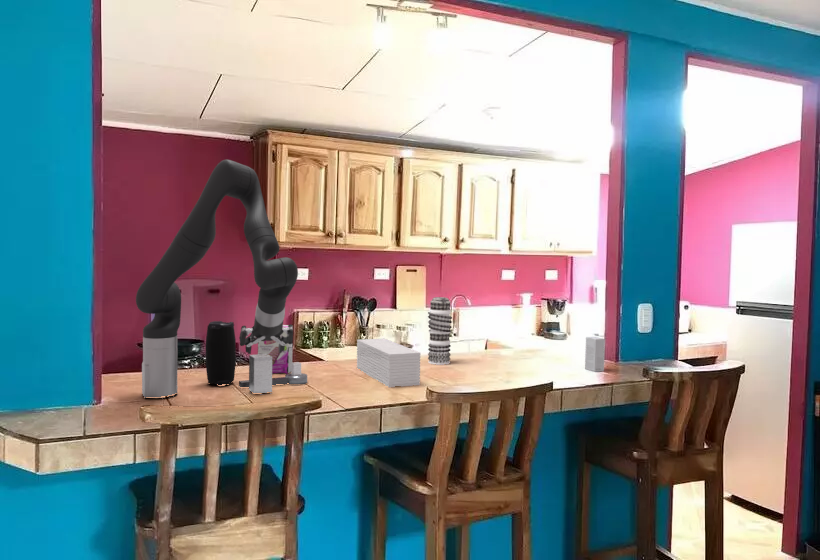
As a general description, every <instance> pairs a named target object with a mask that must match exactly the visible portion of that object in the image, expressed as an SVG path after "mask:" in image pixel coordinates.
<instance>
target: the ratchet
mask: <svg viewBox="0 0 820 560" xmlns="http://www.w3.org/2000/svg"><path fill="white" fill-rule="evenodd" d="M287 383H289V384H304V385H307V384H308V374H307V373H303V372H302V363H301V362H299V361H296V362H295V361H294V362H293V361H292V372H290V373H289V374H285V376H282V377H281V376H278V377H272V385H276V384H287ZM306 383H307V384H306ZM239 386H240V387H249V379H248V380H247V379H246V380H239V381H238V387H239Z"/></svg>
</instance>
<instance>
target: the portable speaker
mask: <svg viewBox="0 0 820 560" xmlns="http://www.w3.org/2000/svg"><path fill="white" fill-rule="evenodd" d="M205 338H206V339H205V368H206V379H207V384H208V383H211V384H215V385H216V386H217V384H218V385H222V384H230V383H231V382H232V381H233V382H234V380H235V372H236V364H237V357H236V356H237V354H236V353H237V350H236V349H237V347H236V344H237V343H236V333H235V324H234V322H233V321H230V322H227V321H220V320H219V321H218V320H216V321H215V320H214V321H210V322H209V323H208V325H207V329H206V337H205ZM233 382H232V383H233ZM232 383H231V384H232ZM231 384H230V385H231Z"/></svg>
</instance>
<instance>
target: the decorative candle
mask: <svg viewBox="0 0 820 560" xmlns="http://www.w3.org/2000/svg"><path fill="white" fill-rule="evenodd" d="M429 302H430V305H429V306H430V308H429V311H428V312H427V315H428V316H427V317H428V319H429V320H428V321H427V323H428V325H427V326H428V327H427V328H429V329H428V333H429V341H428V342H429V344H428V349H427V351H429V352H427V355H428V357H427V360H428V361H427V362H428V364H430V365H435V364H436V365H438V366H443V365H444V364H446V365H450V364H451V361H450V360H451V356H452V355H451V353H450V351H451V347H452V346H451V340H450V334H451V333H452V330H451V328H452V326H451V325H450V324H452V323H453V321H452V319H453V317H452V316H451V315H450V314H451V301H450V299H449V298H448V297H441V296H439V297H433V298H432V299H431V300H430V301H429ZM449 363H450V364H449ZM444 366H445V365H444Z"/></svg>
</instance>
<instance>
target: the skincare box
mask: <svg viewBox="0 0 820 560" xmlns="http://www.w3.org/2000/svg"><path fill="white" fill-rule="evenodd" d="M605 339H606V338H603V337H602V338H601V337H597V336H586V337H585V354H584V355H585V356H584V357H585V359H584V369H585V370H588V371H591V372H597V373H598V372H604V371H605V345H606V343H605V342H606V340H605Z"/></svg>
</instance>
